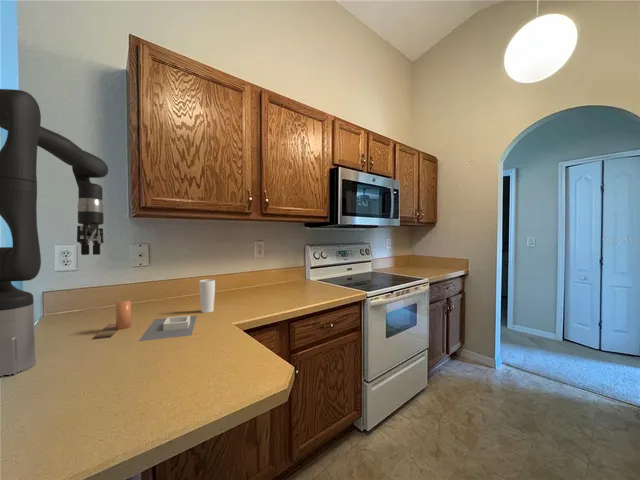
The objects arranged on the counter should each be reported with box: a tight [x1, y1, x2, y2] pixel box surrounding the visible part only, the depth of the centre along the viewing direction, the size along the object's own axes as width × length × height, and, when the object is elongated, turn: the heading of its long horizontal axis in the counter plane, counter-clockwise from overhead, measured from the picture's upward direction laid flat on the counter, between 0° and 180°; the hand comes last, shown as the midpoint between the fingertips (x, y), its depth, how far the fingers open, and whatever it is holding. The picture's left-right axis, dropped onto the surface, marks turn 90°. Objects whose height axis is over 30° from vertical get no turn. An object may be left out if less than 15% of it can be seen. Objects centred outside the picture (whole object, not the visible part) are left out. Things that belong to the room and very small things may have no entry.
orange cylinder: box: [115, 300, 132, 331], centre depth 106 cm, size 5×5×10 cm
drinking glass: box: [198, 278, 216, 314], centre depth 128 cm, size 7×7×15 cm
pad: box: [93, 323, 119, 340], centre depth 106 cm, size 14×14×1 cm
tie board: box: [138, 315, 197, 342], centre depth 107 cm, size 24×16×4 cm, turn 20°
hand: (91, 254), depth 104 cm, fingers open, 8 cm apart
